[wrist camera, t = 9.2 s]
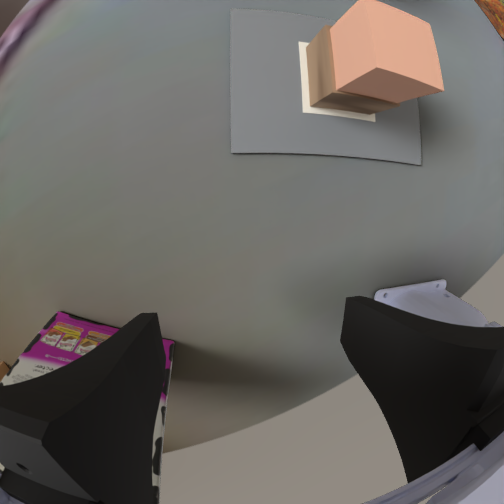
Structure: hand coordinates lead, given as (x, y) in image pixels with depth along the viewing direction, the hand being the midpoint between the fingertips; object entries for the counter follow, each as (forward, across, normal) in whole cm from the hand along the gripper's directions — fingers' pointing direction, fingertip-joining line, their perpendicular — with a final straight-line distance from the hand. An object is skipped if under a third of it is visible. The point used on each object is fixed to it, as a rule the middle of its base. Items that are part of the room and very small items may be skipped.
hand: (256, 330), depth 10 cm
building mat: (+10, -8, -13) cm, 18 cm away
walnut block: (+10, -8, -13) cm, 18 cm away
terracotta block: (+6, -8, -13) cm, 16 cm away
